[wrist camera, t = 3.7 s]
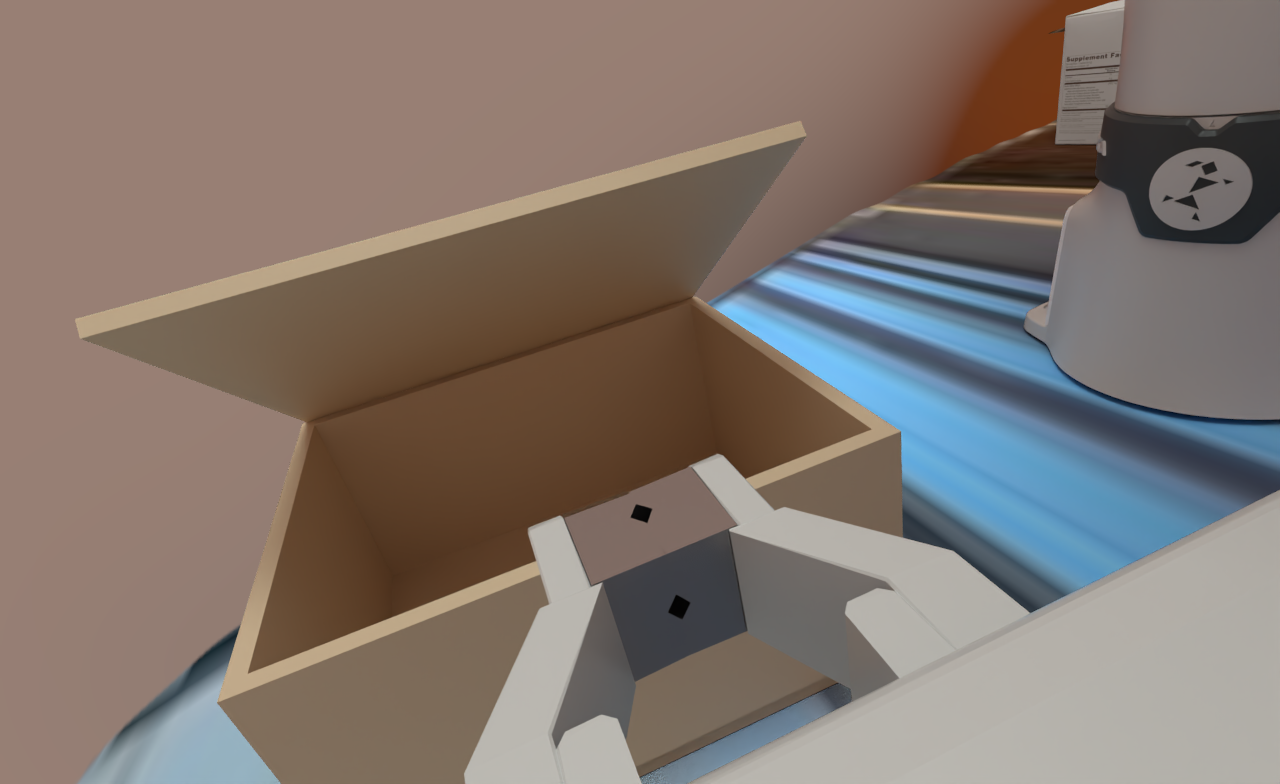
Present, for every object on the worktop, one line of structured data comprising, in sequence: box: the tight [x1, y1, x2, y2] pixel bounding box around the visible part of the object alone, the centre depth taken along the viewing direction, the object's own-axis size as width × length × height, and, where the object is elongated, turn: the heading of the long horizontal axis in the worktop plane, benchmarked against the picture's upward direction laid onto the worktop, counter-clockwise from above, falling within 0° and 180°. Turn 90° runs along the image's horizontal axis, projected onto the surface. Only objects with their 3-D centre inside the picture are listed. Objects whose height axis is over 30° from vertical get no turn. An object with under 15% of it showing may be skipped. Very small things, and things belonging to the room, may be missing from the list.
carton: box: [217, 297, 903, 784], centre depth 27 cm, size 16×20×10 cm
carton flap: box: [75, 121, 807, 422], centre depth 24 cm, size 15×20×1 cm
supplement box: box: [1055, 0, 1125, 145], centre depth 78 cm, size 9×9×15 cm
